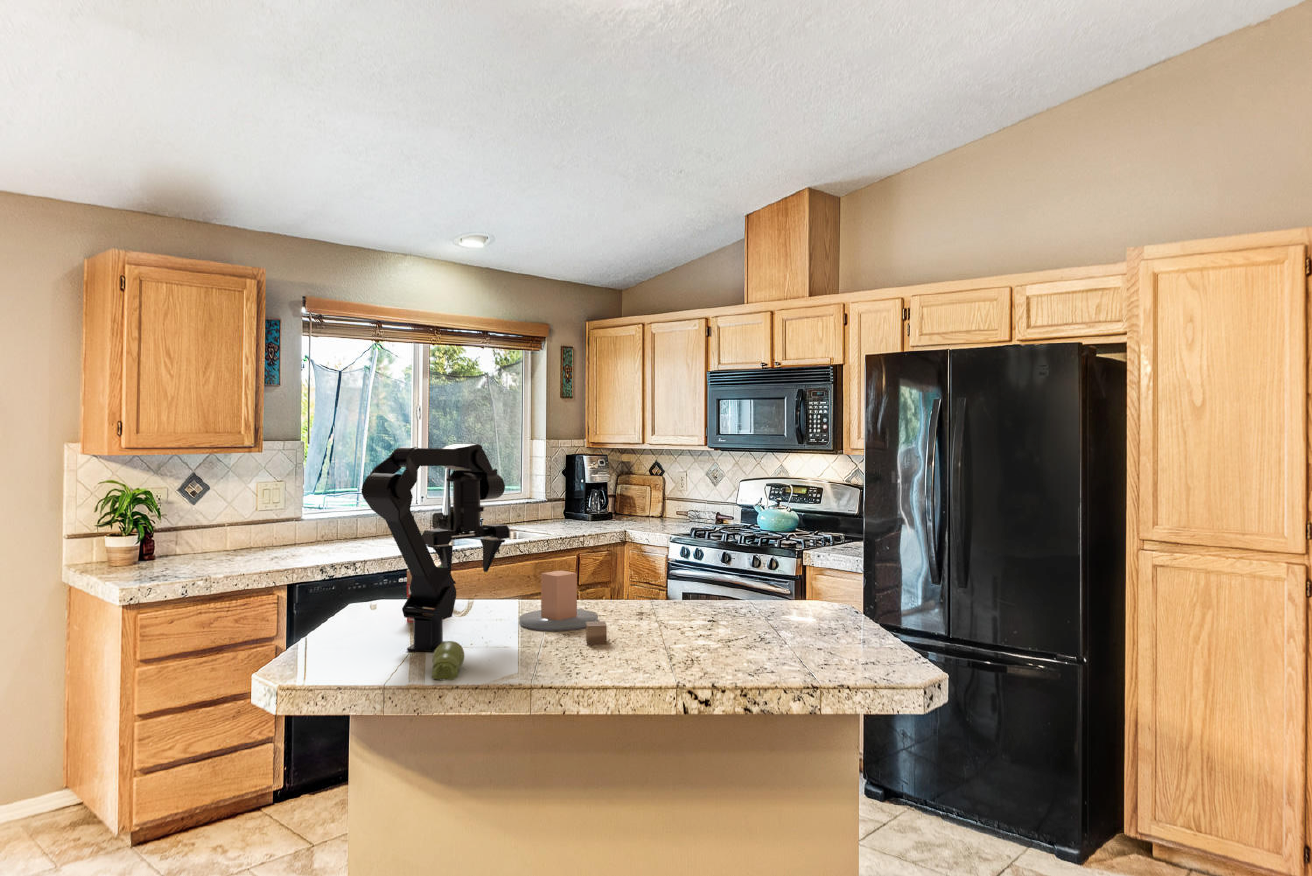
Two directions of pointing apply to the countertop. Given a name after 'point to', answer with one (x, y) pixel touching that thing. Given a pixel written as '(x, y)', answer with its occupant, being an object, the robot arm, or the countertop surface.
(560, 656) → the countertop surface
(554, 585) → the tall clay pillar
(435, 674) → the green rounded piece
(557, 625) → the slate plate
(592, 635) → the walnut block
